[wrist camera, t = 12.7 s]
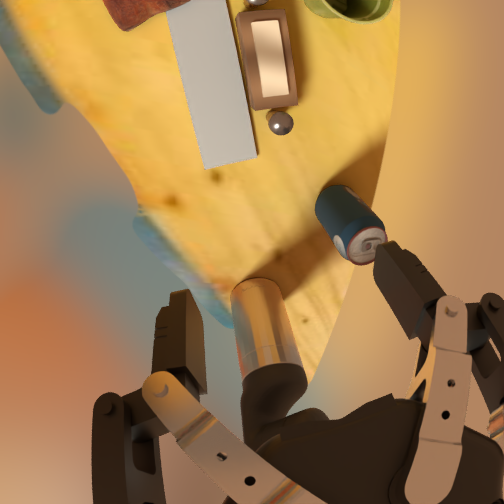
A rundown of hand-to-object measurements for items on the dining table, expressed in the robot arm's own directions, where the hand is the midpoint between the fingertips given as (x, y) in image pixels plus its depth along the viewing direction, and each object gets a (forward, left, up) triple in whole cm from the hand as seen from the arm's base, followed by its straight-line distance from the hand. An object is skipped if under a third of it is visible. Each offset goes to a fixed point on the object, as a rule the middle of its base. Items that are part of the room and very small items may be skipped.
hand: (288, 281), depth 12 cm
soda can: (-14, -13, -28) cm, 34 cm away
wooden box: (+8, -6, -28) cm, 30 cm away
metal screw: (0, -6, -28) cm, 29 cm away
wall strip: (+8, +1, -28) cm, 29 cm away
